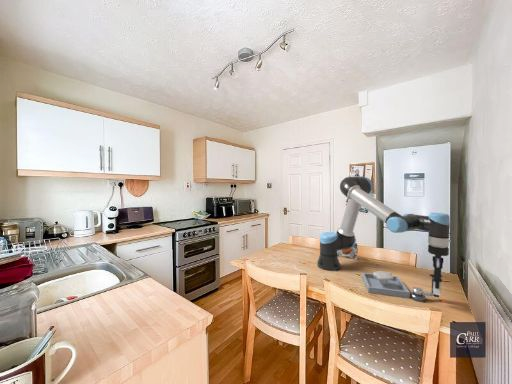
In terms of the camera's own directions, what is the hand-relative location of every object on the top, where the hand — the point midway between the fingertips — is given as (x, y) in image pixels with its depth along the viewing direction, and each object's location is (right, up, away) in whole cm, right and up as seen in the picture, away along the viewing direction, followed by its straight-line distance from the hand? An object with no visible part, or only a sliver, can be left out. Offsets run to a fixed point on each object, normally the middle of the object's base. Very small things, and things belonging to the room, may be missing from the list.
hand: (436, 294), depth 103 cm
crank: (-1, -3, +5) cm, 5 cm away
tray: (-15, -5, +18) cm, 24 cm away
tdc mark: (+6, -5, +2) cm, 8 cm away
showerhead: (-15, -4, +18) cm, 24 cm away
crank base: (-5, -5, +6) cm, 9 cm away
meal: (-16, -3, +63) cm, 66 cm away
